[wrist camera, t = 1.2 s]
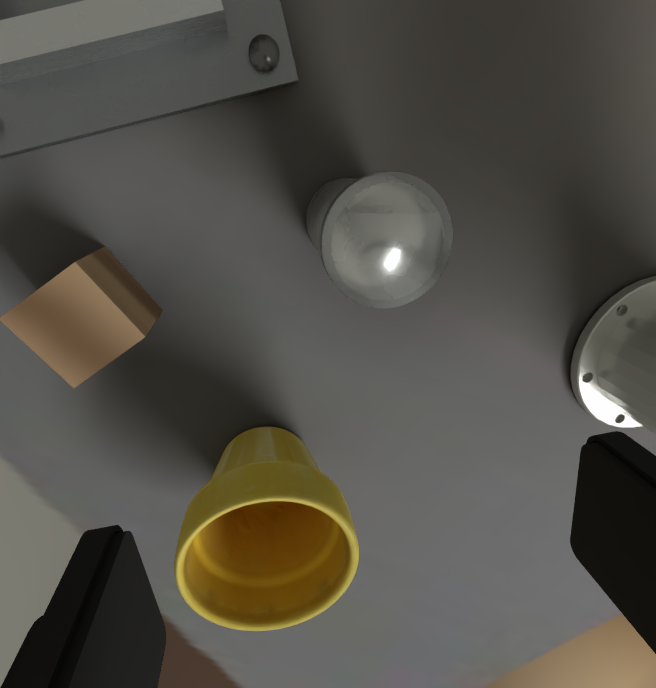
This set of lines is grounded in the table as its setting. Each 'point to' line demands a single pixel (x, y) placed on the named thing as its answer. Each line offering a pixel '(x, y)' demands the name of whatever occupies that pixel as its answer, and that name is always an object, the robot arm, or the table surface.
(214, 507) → the plant pot
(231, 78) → the square metal socket
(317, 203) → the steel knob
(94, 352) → the wooden cube
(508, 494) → the table surface
